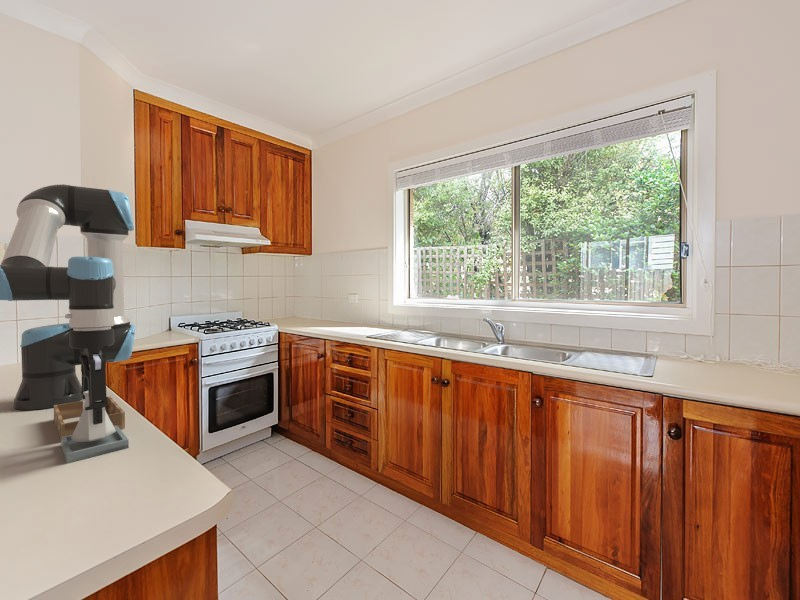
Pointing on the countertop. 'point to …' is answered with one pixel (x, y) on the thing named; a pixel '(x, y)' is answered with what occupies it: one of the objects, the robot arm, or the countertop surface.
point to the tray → (93, 446)
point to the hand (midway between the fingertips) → (94, 432)
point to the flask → (82, 427)
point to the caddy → (76, 410)
